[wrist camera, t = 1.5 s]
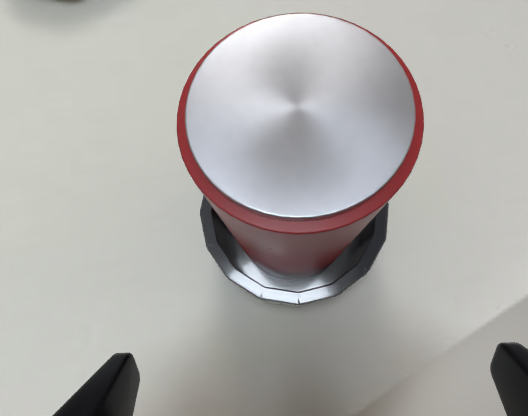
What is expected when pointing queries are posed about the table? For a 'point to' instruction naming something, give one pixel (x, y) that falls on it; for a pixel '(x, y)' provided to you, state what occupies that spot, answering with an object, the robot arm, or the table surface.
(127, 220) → the table surface
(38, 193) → the table surface
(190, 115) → the can
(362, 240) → the bowl
